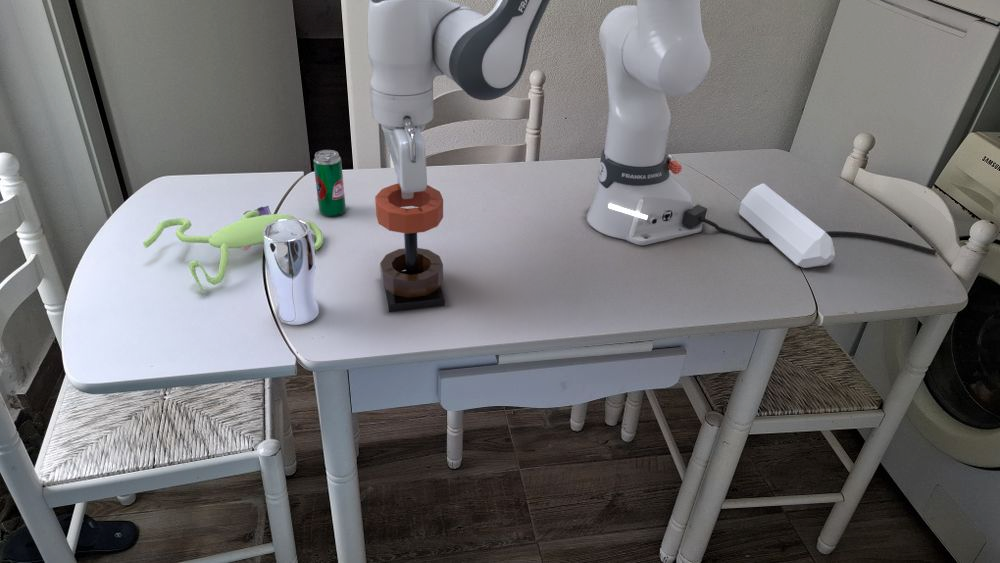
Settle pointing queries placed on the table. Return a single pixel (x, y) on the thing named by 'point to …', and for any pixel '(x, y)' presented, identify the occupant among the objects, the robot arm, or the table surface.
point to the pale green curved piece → (229, 237)
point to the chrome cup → (292, 269)
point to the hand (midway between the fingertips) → (405, 192)
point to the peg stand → (411, 265)
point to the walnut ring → (411, 283)
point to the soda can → (329, 183)
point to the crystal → (787, 228)
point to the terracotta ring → (409, 210)
